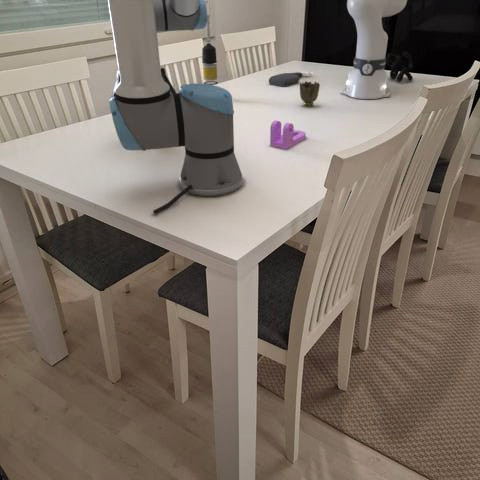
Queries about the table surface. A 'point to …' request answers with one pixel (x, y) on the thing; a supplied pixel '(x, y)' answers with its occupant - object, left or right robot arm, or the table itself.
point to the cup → (309, 92)
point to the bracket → (284, 135)
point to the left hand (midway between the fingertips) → (147, 125)
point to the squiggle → (399, 66)
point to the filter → (209, 59)
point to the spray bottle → (288, 78)
